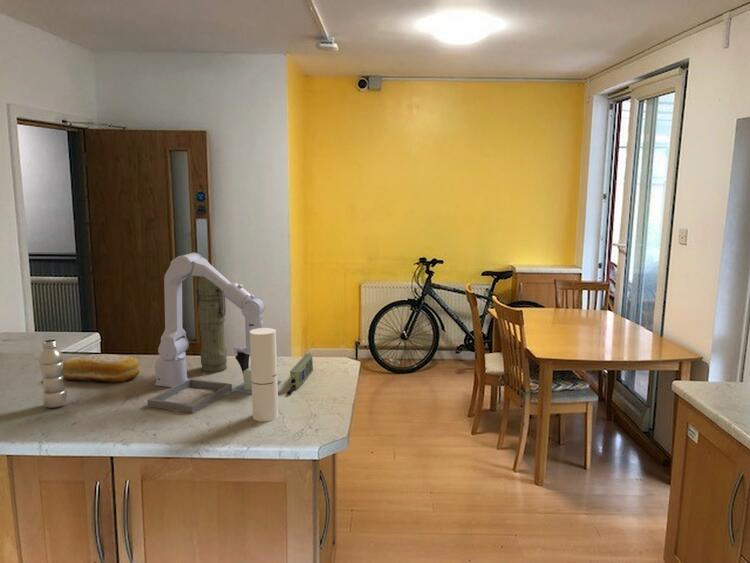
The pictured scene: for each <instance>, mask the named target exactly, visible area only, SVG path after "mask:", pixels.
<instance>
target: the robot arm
mask: <svg viewBox="0 0 750 563" xmlns="http://www.w3.org/2000/svg"><path fill="white" fill-rule="evenodd" d="M190 275H191V276H193V277H200V276H204V277H205V278H207V279H208V280H209V281H211V282H212V283H214V284H215V285H216V286H218V287H219V288H220V289H222V290H223V291H224V294H225V299H227V300H228V301H230V302H231V303H232V304H233V305H235V306H236V307H237V308H239V309H240V310H241V315H243V317H244V325H245V326H244V328H245V329H244V330H245V346H240V345H239V346H238V345H237V346H235V347H234V348H233V349H234V350H233V351H234V354H237V355H235V359H236V361H237V363H238V364H239V366H240V369H241V372H242V373H243V371H244V370H246V369H248V368H250V365H249V363H250V357H251V355H250V331H251V330H253V329H258V328H264V314H263V312H265V309H266V304H265V302H264V300H263V299H262V298H261V297H259V296H258V297H257V296H255V295H254V294H253V293H250V292H249V291H247V289H245V288H244V285H243V284H242V283H238V282H231V281H230V280H229V279H227V278H226V277H225V275H224V274H222V273H221V272H220V271H218V270H217V269H216V268H215V267H214V266H213V265H212V264H210V262H209V261H208V259H207V258H204V257H202V255H201V254H199V253H198V252H190V253H188V254H183V255H178V256H177V257H175V258H173V259H172V260H171V261H170V265H169V267H168V269H167V270H166V271H165V274H164V279H163V280H164V282H163V283H164V284H163V286H164V327H165V328H164V331H163V333H162V335H161V337H160V344H159V345H158V348H157V351H158V355H159V357H158V358H157V359H156V362H155V367H154V368H155V383H154V385H155V386H158V387H159V386H160V387H166V388H172V387H174V386H176V385H178V384H180V383H182V382H184V381H186V380H188V379H189V378H188V373H187V372H188V371H187V370H188V369H187V355H186V354H187V353H186V351H187V350H188V349H189V344H190V343H189V339H188V337H187V332H186V330H185V329H184V328H183V281H184V280H186V279H187V278H188V277H189V276H190ZM277 352H278V351H277V350H276V353H277ZM242 376H243V377H244V375H243V374H242Z"/></svg>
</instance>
